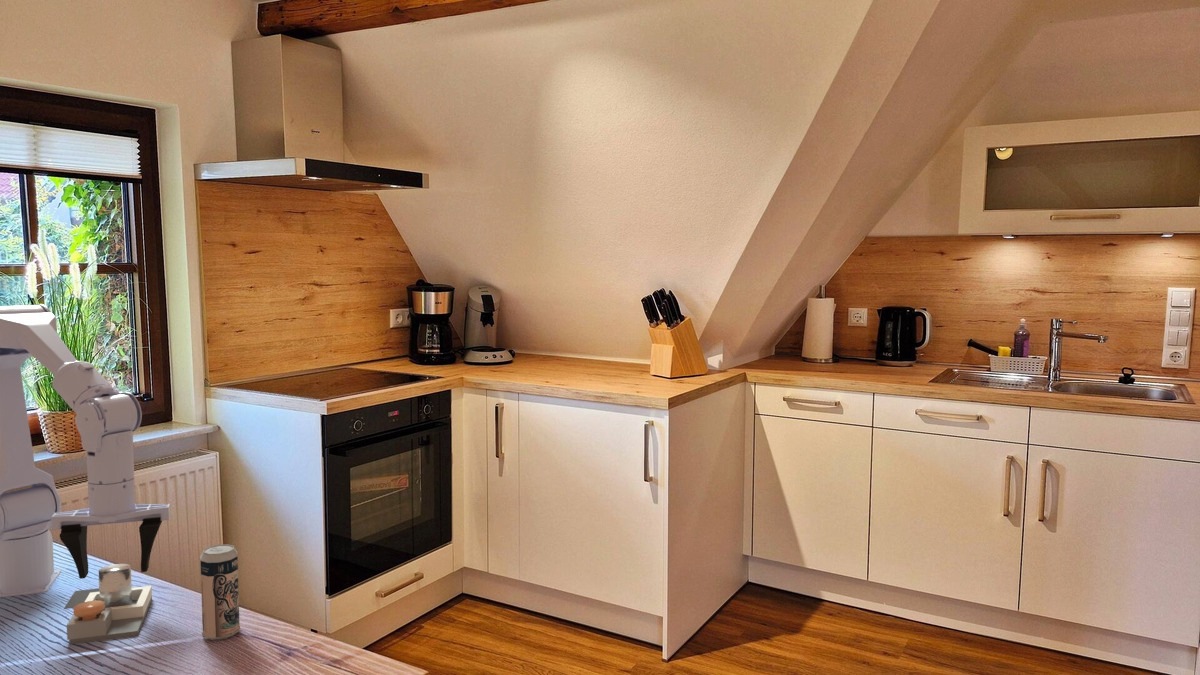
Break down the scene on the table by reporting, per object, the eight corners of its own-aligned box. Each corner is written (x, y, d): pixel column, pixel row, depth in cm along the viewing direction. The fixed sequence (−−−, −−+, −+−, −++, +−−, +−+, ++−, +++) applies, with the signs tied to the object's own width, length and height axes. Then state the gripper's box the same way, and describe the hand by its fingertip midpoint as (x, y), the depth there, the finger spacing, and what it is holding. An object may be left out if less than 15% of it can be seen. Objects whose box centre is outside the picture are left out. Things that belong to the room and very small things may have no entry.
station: (89, 609, 122) (88, 589, 122) (152, 601, 125) (151, 582, 125) (67, 647, 110) (66, 625, 110) (137, 638, 113) (137, 616, 113)
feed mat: (75, 593, 128) (75, 590, 128) (126, 587, 131) (126, 585, 131) (63, 611, 122) (63, 608, 122) (118, 604, 124) (118, 602, 124)
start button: (77, 625, 114) (76, 602, 114) (107, 621, 115) (107, 599, 115) (71, 636, 111) (70, 612, 110) (102, 632, 112) (101, 609, 112)
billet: (103, 605, 121) (101, 565, 121) (134, 602, 123) (133, 562, 122) (97, 616, 117) (95, 575, 117) (129, 612, 119) (128, 571, 118)
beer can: (225, 643, 112) (223, 556, 111) (194, 640, 113) (191, 553, 112) (247, 628, 116) (245, 544, 115) (217, 625, 117) (214, 542, 116)
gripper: (43, 491, 112) (48, 589, 113) (164, 482, 117) (167, 576, 118) (57, 478, 119) (61, 571, 120) (171, 470, 124) (173, 560, 125)
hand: (114, 572), depth 120 cm, fingers open, 7 cm apart
